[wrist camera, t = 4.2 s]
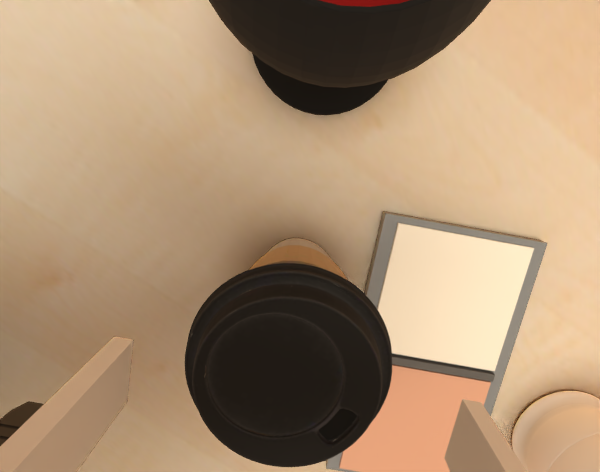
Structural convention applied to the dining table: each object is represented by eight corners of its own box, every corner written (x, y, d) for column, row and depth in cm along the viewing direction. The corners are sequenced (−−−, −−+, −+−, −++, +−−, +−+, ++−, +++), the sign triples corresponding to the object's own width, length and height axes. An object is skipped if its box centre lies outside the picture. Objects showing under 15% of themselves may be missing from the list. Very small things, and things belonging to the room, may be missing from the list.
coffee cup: (339, 341, 33) (366, 503, 18) (224, 315, 32) (155, 457, 18) (371, 229, 30) (431, 308, 16) (249, 200, 30) (195, 252, 15)
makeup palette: (325, 459, 35) (326, 473, 33) (383, 211, 30) (387, 214, 29) (461, 482, 35) (468, 497, 34) (539, 240, 30) (551, 244, 29)
